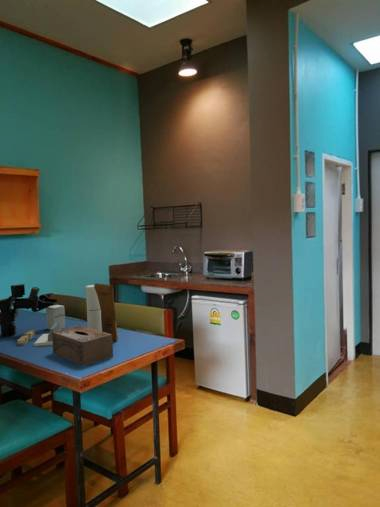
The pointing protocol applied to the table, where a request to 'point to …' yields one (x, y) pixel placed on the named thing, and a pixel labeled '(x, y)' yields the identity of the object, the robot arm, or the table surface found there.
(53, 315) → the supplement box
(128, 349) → the table surface
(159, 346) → the table surface
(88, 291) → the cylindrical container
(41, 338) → the fulcrum stand
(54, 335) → the tissue box cover
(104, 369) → the table surface
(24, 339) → the oak bar
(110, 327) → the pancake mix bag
